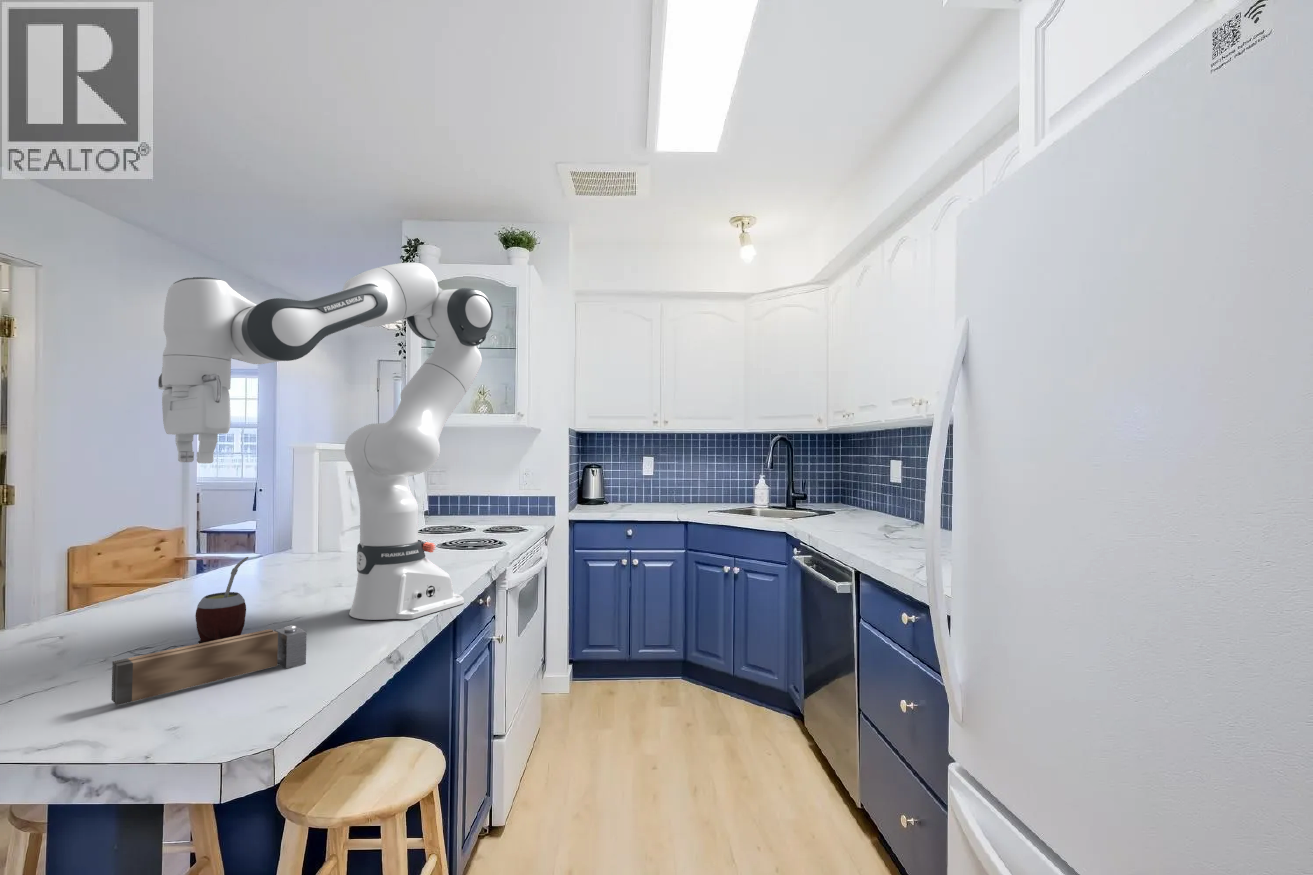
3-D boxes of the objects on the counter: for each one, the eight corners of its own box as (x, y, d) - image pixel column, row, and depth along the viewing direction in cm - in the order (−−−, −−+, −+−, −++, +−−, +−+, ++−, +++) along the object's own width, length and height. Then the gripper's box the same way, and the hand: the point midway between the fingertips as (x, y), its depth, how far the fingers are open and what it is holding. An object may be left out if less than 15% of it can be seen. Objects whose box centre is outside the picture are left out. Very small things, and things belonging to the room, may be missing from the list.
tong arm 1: (269, 661, 94) (270, 628, 94) (272, 663, 93) (273, 630, 93) (111, 699, 79) (112, 661, 79) (113, 702, 78) (114, 663, 78)
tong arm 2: (274, 663, 93) (274, 631, 93) (277, 665, 92) (278, 632, 92) (114, 702, 78) (115, 663, 78) (116, 705, 77) (117, 666, 77)
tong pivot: (292, 657, 97) (293, 622, 97) (305, 663, 94) (306, 627, 94) (273, 661, 95) (274, 625, 95) (286, 668, 92) (286, 631, 92)
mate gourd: (201, 638, 106) (203, 552, 107) (254, 633, 110) (256, 550, 110) (188, 651, 100) (191, 559, 100) (245, 645, 103) (248, 556, 103)
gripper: (243, 374, 94) (241, 463, 94) (200, 383, 106) (198, 461, 106) (194, 370, 89) (191, 464, 89) (154, 379, 101) (152, 461, 101)
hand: (195, 462), depth 97 cm, fingers open, 8 cm apart
